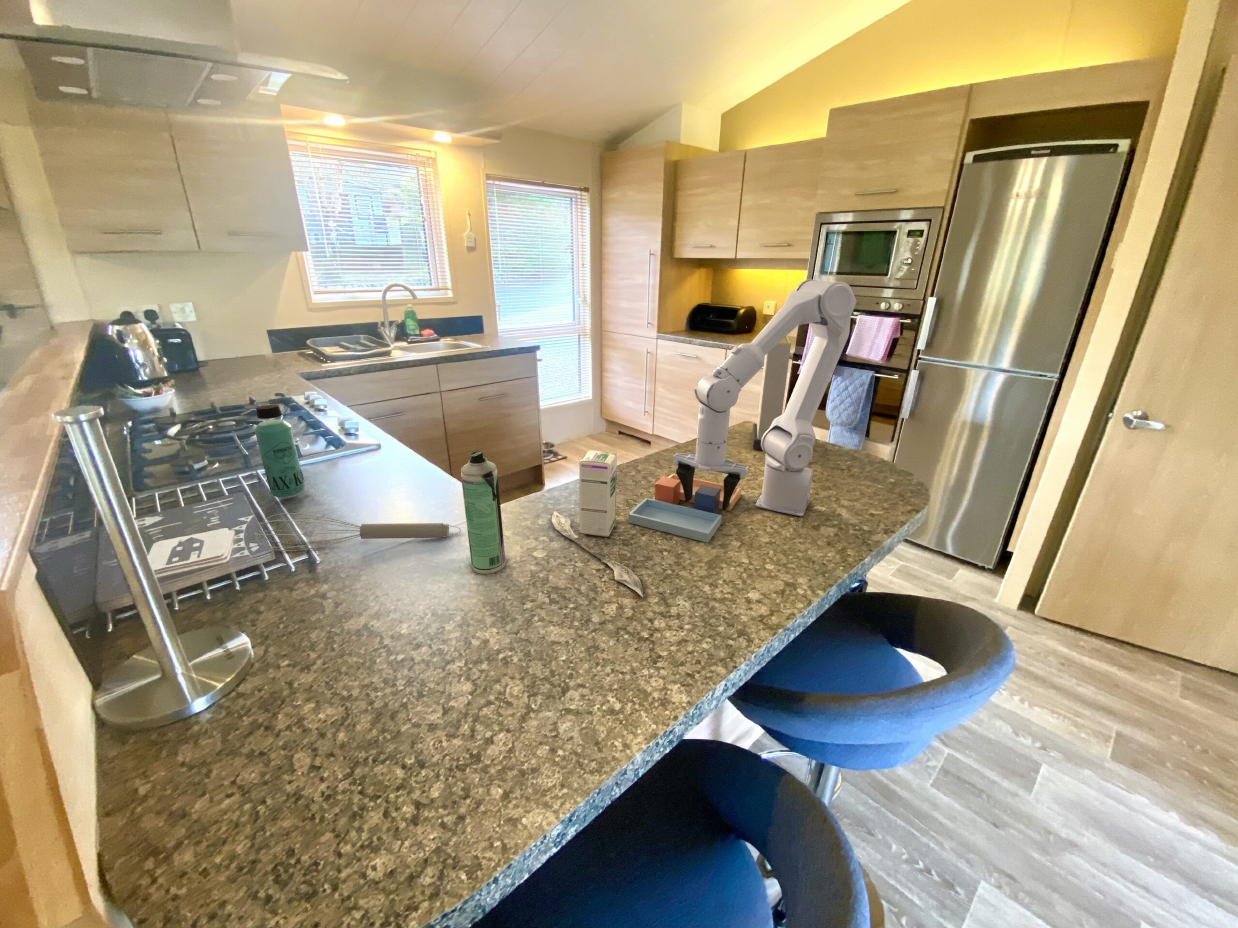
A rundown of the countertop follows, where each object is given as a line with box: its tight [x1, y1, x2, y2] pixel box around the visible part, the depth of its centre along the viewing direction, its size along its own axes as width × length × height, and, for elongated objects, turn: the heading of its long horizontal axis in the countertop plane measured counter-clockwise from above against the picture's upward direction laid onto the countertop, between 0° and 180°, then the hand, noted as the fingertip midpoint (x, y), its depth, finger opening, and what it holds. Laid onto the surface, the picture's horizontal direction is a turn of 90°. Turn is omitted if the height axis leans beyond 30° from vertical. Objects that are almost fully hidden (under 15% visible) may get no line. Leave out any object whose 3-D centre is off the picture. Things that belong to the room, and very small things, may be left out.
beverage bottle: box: [253, 403, 306, 498], centre depth 105 cm, size 6×7×20 cm
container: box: [752, 335, 792, 451], centre depth 138 cm, size 7×18×30 cm, turn 167°
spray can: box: [460, 450, 506, 575], centre depth 82 cm, size 6×6×20 cm
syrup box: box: [578, 450, 618, 538], centre depth 95 cm, size 6×6×14 cm
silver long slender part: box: [551, 510, 644, 598], centre depth 90 cm, size 32×1×5 cm
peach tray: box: [667, 473, 742, 512], centre depth 111 cm, size 16×8×2 cm, turn 62°
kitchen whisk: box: [254, 512, 462, 552], centre depth 91 cm, size 6×34×6 cm, turn 99°
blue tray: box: [628, 497, 723, 544], centre depth 99 cm, size 16×8×2 cm, turn 62°
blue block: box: [693, 485, 721, 514], centre depth 103 cm, size 4×4×5 cm
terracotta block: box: [654, 476, 681, 505], centre depth 106 cm, size 4×4×5 cm
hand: (706, 503), depth 103 cm, fingers open, 7 cm apart
